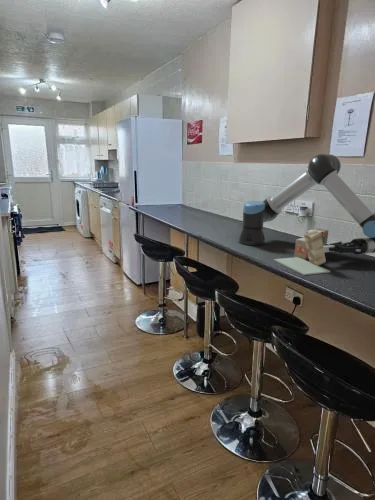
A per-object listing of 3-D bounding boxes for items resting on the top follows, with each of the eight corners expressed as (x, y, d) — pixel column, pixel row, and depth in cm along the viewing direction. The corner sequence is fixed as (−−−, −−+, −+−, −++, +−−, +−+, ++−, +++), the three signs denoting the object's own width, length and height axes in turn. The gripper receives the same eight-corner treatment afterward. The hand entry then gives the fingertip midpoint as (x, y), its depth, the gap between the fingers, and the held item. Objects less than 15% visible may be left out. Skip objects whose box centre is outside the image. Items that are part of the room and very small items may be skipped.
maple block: (309, 263, 153) (303, 234, 147) (318, 259, 154) (312, 230, 148) (317, 266, 148) (311, 237, 143) (326, 262, 149) (320, 232, 144)
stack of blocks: (305, 260, 158) (308, 235, 154) (293, 257, 162) (296, 233, 159) (325, 253, 172) (328, 229, 168) (314, 250, 176) (317, 228, 173)
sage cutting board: (274, 260, 156) (274, 259, 156) (297, 258, 160) (297, 257, 160) (304, 275, 136) (304, 273, 136) (330, 272, 140) (330, 271, 140)
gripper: (371, 257, 152) (331, 261, 144) (349, 250, 164) (311, 253, 156) (374, 241, 150) (333, 244, 142) (352, 235, 162) (313, 238, 154)
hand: (321, 249), depth 149 cm, fingers closed
